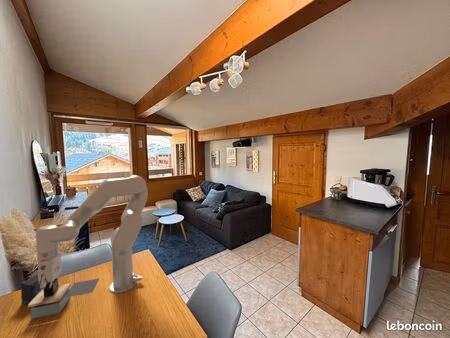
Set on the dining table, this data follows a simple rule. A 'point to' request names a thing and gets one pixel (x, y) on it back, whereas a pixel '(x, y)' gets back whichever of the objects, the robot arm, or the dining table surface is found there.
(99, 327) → the dining table surface
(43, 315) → the open box
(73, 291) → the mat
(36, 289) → the small box
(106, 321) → the dining table surface
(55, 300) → the lid
